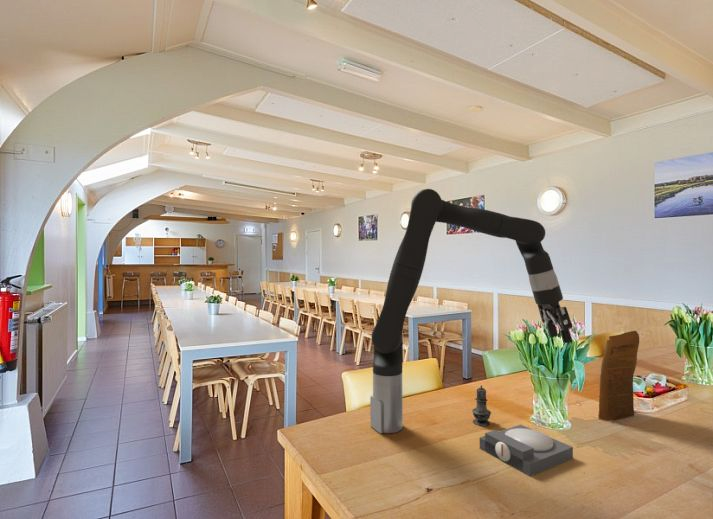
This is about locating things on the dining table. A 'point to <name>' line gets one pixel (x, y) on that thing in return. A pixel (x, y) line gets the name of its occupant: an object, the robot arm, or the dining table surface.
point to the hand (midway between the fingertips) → (561, 339)
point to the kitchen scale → (526, 449)
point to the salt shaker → (481, 409)
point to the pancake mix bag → (618, 376)
